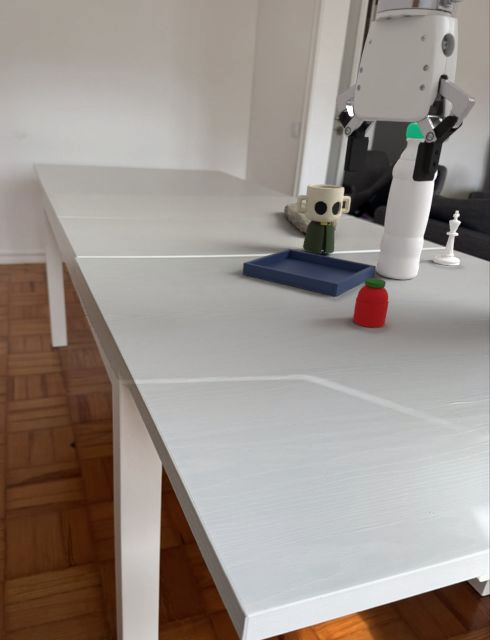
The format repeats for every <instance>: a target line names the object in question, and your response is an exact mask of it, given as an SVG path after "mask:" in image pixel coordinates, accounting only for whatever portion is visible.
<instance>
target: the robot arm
mask: <svg viewBox="0 0 490 640" xmlns="http://www.w3.org/2000/svg"><path fill="white" fill-rule="evenodd" d="M459 2H460V3H461V2H463V0H378V2H377V3H378V4H377V7H376V8H377V9H376V16H375V20H372V21H371V24H370V27H369V30H368V33H367V36H366V39H365V42H364V47H363V50H362V55H361V58H360V64H359V68H358V71H357V72H358V73H357V78H356V83H355V84H353V85H352V86H351V87H349V88H348V89H346V90H345V91H343V92H342V93H340V94H338V95H337V96H336V99H335V100H336V101H335V102H336V107H337V111H338V114H339V115H338V118H339V121H340V123H341V126H342V127H343V134H344V136H346V137H347V142H346V150H345V158H344V166H343V170H344V172H347V173H355V172H364V171H365V169H366V163H367V158H368V157H367V156H368V152H369V151H368V150H369V144H370V137H369V136H366V134H367V133H368V132H369V131H370V130H371V128H372V127H373V126H374V125H375V123H376V122H377V121H379V122H399V123H400V122H401V123H417V124H418V126H419V128H420V130H421V132H422V135H423V137H424V139H425V141H424V142H420V144H419V145H418V150H417V155H416V161H415V166H414V171H413V177H412V178H413V180H414V181H418V182H421V181H432V180H433V179H434V176H435V173H436V172H437V173H438V168H439V163H440V159H441V154H442V149H443V145H444V144H445V143H447V142H448V141H449V140H450V137H451V136H452V135H453V134H454V133H455V132H457V131H458V130H459V129H460V128H461V127H462V126H463V122H464V120H465V119H466V117H468V116H469V113H470V112H471V110H472V109H473V107H474V106H475V104H476V99H475V97H474V96H472V95H471V94H469V93H468V92H466V90H463V88H461V87H459V86H458V85H457V84H455V82H456V81H455V80H456V73H457V65H458V53H459V52H458V50H459V21H458V20H459V19H458V18H457V17H452V13H453V12H454V7H455V6H454V5H455V4H456V3H459ZM451 106H452V108H451Z"/></svg>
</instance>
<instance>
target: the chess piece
mask: <svg viewBox="0 0 490 640" xmlns="http://www.w3.org/2000/svg"><path fill="white" fill-rule="evenodd" d="M459 212H460V211H459V210H455V213H453V216H452V217H453V219H450V220H449V231H447V232H446V235H447V236H448V239H447V242H446V244H445V247H444V251H443V252H441V254H440V255H436V256H434V257H433V260H432V261H433V262H434V263H435V264H438V265H442V266H451V267H452V266H453V267H455V266H459V265H460V264H461V263H460V262H461V259H459V258H458V257H456V256H455V254H454V246H455V245H454V243H455V237H458V236H459V233H458V232H457V230H458V228H459V226H460V225H461V223H462V222H461V221H460V220H459V219H458V218H460V213H459Z"/></svg>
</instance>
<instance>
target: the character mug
mask: <svg viewBox="0 0 490 640" xmlns="http://www.w3.org/2000/svg"><path fill="white" fill-rule="evenodd" d="M303 201H305V202H304V203H305V208H302V207H301V206H302V203H303ZM344 202H345V205H344V207H343V203H344ZM351 202H352V198H351V196H349V195H345V187H344V186H340V185H336V184H335V185H334V184H324V183H313V184H308V185H307V186H306V194H300V195H298V196H297V199H296V203H297V208H296V210H297V212H299V213H304V214H305V217H306V218H307V219H309V220H311V222H310V223H309V224H308V227H307V231H306V233H305V235H304V239H303V244H302V248H303V250H305V252H308V253H313V254H322V252H323V253H324V254H331V253H334V252H335V231H334V226H333V224H332V222H334V221H339V220H340V218H341V216H342V214H348V213H349V212H350V209H351Z"/></svg>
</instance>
